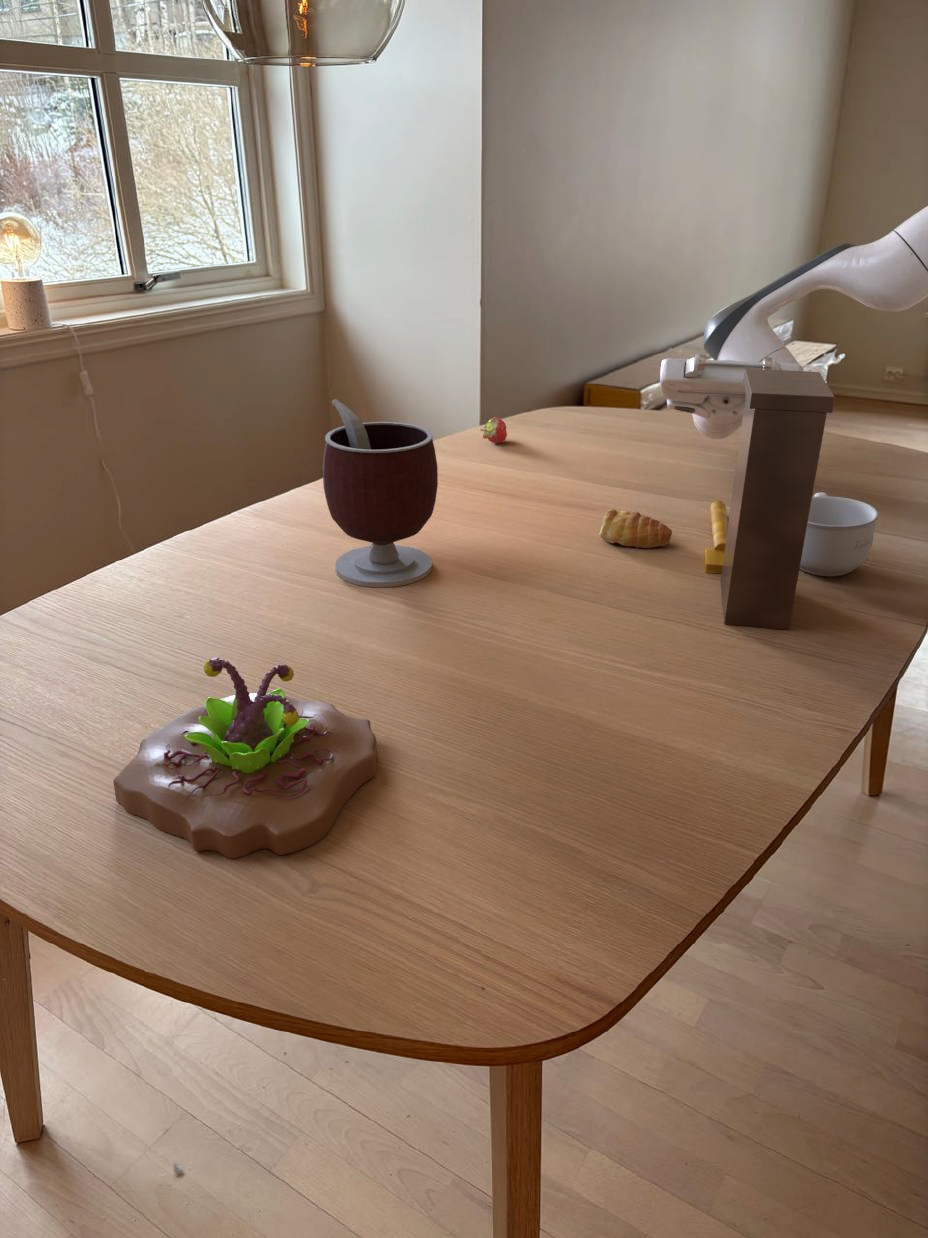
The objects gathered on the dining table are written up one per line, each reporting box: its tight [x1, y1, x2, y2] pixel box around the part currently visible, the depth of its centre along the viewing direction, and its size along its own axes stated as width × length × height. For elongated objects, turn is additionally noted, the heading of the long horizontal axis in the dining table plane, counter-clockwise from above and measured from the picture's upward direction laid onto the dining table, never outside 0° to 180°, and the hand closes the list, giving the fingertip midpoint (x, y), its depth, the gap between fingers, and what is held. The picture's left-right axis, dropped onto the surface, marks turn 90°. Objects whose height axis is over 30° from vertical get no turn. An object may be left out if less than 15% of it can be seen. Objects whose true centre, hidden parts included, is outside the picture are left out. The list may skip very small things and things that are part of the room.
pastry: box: [598, 508, 673, 549], centre depth 129 cm, size 9×7×4 cm
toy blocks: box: [703, 500, 729, 575], centre depth 129 cm, size 4×22×2 cm, turn 169°
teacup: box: [799, 492, 879, 577], centre depth 121 cm, size 14×11×8 cm
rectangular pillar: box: [720, 369, 836, 631], centre depth 106 cm, size 8×12×26 cm, turn 168°
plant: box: [113, 657, 378, 859], centre depth 78 cm, size 20×20×11 cm
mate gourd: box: [321, 398, 439, 588], centre depth 117 cm, size 16×14×20 cm
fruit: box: [479, 416, 508, 444], centre depth 171 cm, size 4×6×5 cm
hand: (735, 361), depth 133 cm, fingers open, 8 cm apart
